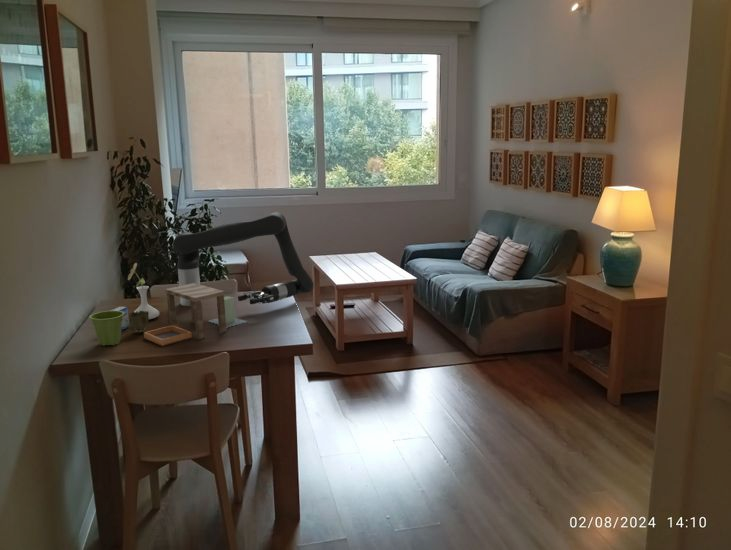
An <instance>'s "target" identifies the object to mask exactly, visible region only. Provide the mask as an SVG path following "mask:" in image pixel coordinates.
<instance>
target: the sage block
mask: <svg viewBox="0 0 731 550" xmlns="http://www.w3.org/2000/svg"><path fill="white" fill-rule="evenodd" d="M224 305H225V318H226V323H230V322H233V321H235V318H236V313H235V299H234V297H232V296H229V295H227V296H225V295H224Z"/></svg>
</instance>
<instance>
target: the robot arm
mask: <svg viewBox="0 0 731 550" xmlns="http://www.w3.org/2000/svg"><path fill="white" fill-rule="evenodd" d="M272 235H274V237H275V239H276V241H277V244H278V247H279V249H280V253H281V257H282V260H283V263H284V266H285V267H286V269H287V272H288V273H289V276H291V277H295V279H293V280H290V281H285V282H281V283H280V282H278V283H274V284H269V285H265V286H263V287H262V288H261V291H260V290H257V291H256V290H251V291H246V292H243V294H242V295H238V296H237V301H239V302H243V301H247V300H249V304H250V305H255V304H262V305H264V304H271V303H275V302H279V301H282V300H285V299H287V298H291V297H294V296H295V295H296V296H297V295H302V294H309V293H310V292H313V290H314V281H313V279H312V278H311V276H310V274H309V273H308V271H307V270H306V269H305V268H304V266H303V264H302V262H301V259H300V257H299V254H298V253H297V252H298V251H296V247H295V245H294V244H293V241H292V239H291V238H292V237H291V235H290V232H289V227H288V224H287V220H286V217H285V215H284V214H283V213H281V212H278V211H274V212H270V213H269V214H268V215H267V216H264V217H262V218H258V219H254V220H248V221H233V222H229V223H224V224H220V225H217V226H215V227H214V226H213V227H211V228H209V229H206V230H204V231H200V232H195V233H192V232H190V231H186V232H182V233H181V234H178V235H177V236H176V237H175V238H174V239H173V242H172V248H173V249H174V251H175V252H176V253H178V260H177V264H176V266H177V274H178V275H177V276H178V286H182V285H187V284H192V283H196V284H199V285H201V280H200V268H199V262H200V250H203V249H206V248H215V247H220V246H221V247H222V246H227V245H232V244H236V243H240V242H244V241H248V240H251V239H254V238H259V237H263V236H272ZM179 300H180V305H181V306H182V307H191V306H190V300H187V299H184V298H181V297H179ZM202 301H203V300H201V304H202Z"/></svg>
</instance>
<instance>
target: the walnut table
mask: <svg viewBox="0 0 731 550" xmlns="http://www.w3.org/2000/svg"><path fill="white" fill-rule="evenodd" d="M164 291H165V292H164V293H165V294H166V300H167V301H166V302H167V303H166V304H167V313H168V322H169V326H171V325H173V326H176V327H178V325H177V324H178V323H177V322H178V321H177V314H176V304H175V303H176V302H175V297H178V298H180V297H181V298H184V299H187V300H190V306H189V307H190V315H191V323H192V324H194V323H195V333H196V339H197V340H199V339H201V340H203V338H204V339H205V330H204V319H203V317H204V316H203V307H202V303H201V301H204V300H208V299H212V298H216V307H217V318H218V322H219V325H218V331H219V333H220V332H221V334H224V333H223V332H225V333H227V332H226V331H227V328H226V318H225V305H224V297H225V295H226V294H225V293H226V292H225V290H221V289H217V288H214V287H211V286H206V285H204V284H200V285H199V284H196V283H192V284H187V285H182V286H179V285H178V286H174V287H173V286H172V287H168V288H165V289H164Z"/></svg>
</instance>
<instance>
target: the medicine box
mask: <svg viewBox="0 0 731 550" xmlns="http://www.w3.org/2000/svg"><path fill="white" fill-rule="evenodd" d="M109 311H122V312H124V315H123V317H122V323H121V330H123V329H125V328H127V327H128V328H130V327H129V326H130V319H129V310H128V307H127V306H118V307H115V308H112V309H111V310H109ZM128 328H127V329H128ZM125 330H126V329H125ZM123 331H124V330H123Z"/></svg>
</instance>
